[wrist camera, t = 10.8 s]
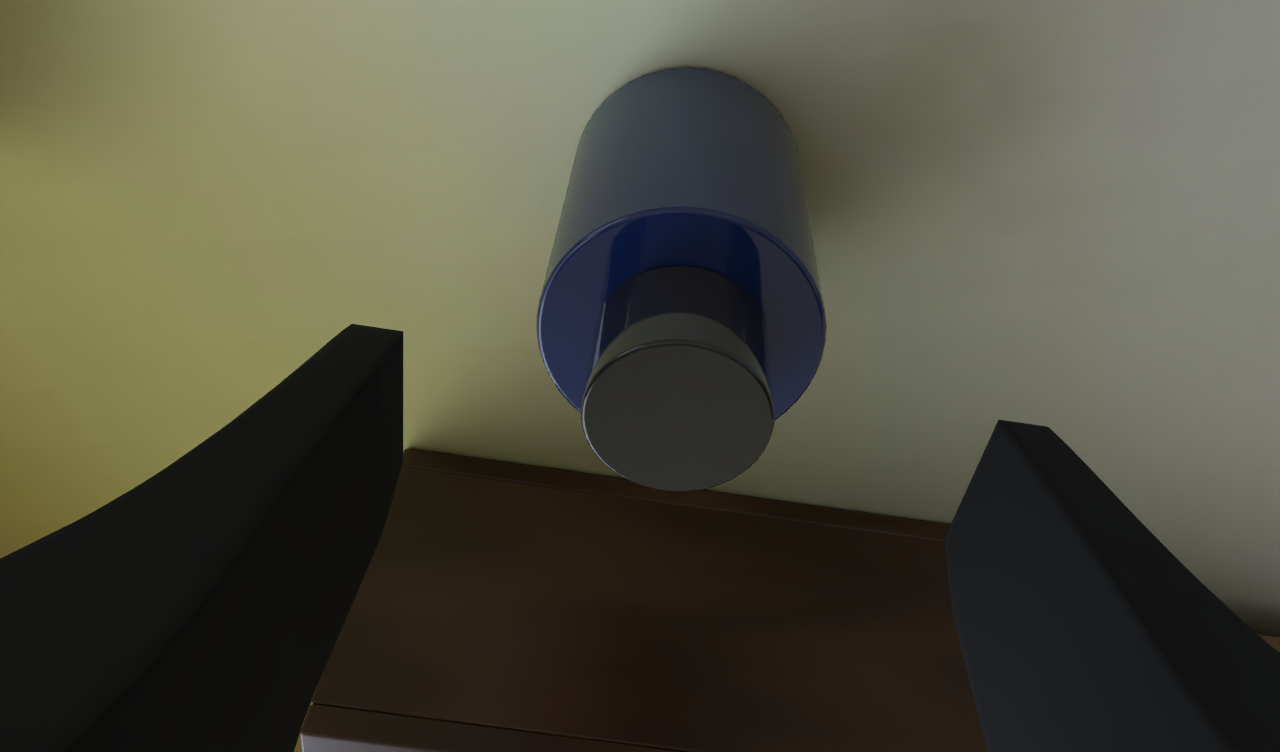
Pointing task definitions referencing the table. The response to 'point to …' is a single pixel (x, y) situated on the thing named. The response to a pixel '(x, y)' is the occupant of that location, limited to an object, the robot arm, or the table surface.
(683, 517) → the cabinet
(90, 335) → the table surface
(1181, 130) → the table surface
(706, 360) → the ink bottle
